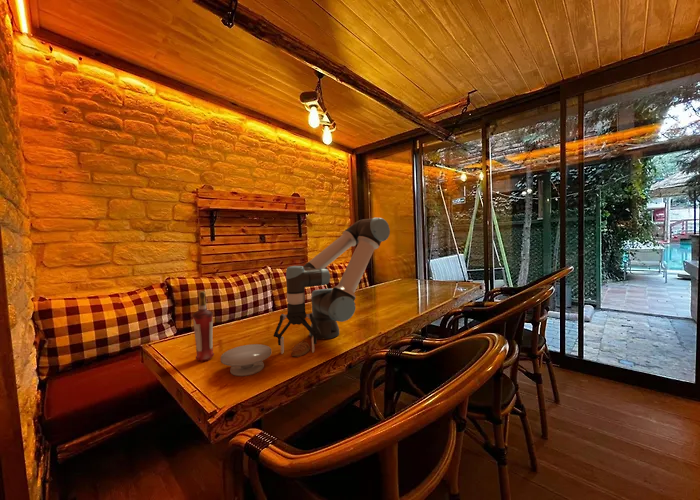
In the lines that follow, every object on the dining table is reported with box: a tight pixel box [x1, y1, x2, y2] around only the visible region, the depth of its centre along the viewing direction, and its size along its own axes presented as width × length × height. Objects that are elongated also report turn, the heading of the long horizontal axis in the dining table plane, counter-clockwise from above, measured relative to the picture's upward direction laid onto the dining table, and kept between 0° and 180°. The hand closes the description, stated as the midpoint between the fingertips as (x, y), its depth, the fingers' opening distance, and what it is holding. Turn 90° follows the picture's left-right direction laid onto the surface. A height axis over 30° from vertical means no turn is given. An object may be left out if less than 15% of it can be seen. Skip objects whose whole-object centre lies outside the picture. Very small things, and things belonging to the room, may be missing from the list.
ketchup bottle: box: [192, 291, 215, 362], centre depth 119 cm, size 7×7×28 cm
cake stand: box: [220, 343, 272, 377], centre depth 109 cm, size 18×18×6 cm
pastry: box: [290, 341, 311, 357], centre depth 123 cm, size 9×7×4 cm
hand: (297, 352), depth 123 cm, fingers open, 12 cm apart
